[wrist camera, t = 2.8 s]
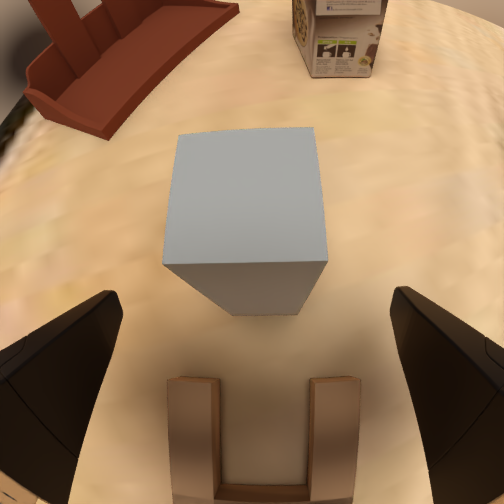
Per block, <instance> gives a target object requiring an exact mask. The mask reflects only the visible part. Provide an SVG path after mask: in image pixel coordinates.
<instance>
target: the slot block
mask: <svg viewBox="0 0 504 504" xmlns="http://www.w3.org/2000/svg"><path fill="white" fill-rule="evenodd" d="M360 392H361V380H360V379H357V378H354V377H352V376H343V377H329V378H311V379H310V426H309V454H308V475H307V485H283V486H261V485H236V484H222V483H221V461H220V379H215V378H197V377H183V376H180V377H176V378H173V379H169V380H167V399H168V436H169V457H170V472H171V485H172V497H173V504H352V502H353V495H354V486H355V477H356V467H357V455H358V441H359V423H360Z"/></svg>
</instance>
